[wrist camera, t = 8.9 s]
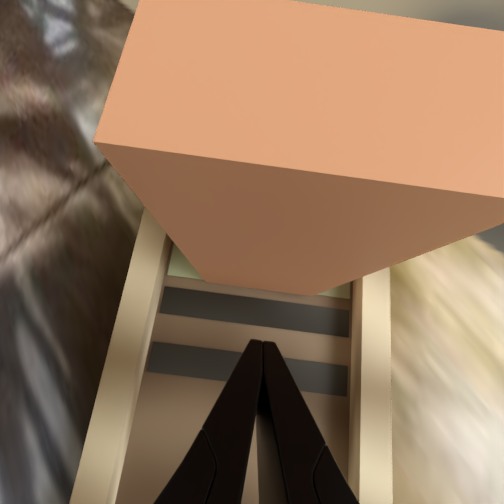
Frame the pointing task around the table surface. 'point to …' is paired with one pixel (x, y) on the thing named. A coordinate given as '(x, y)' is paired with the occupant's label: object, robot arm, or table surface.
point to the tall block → (306, 137)
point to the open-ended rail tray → (221, 366)
